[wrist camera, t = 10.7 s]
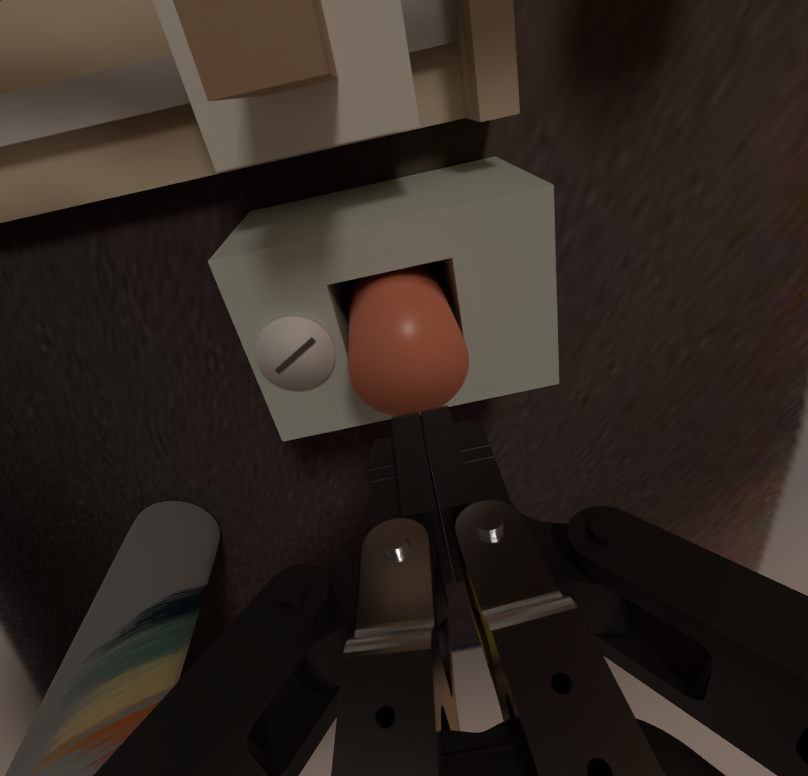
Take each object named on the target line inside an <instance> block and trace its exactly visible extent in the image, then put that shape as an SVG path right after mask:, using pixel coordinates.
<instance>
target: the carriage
mask: <svg viewBox="0 0 808 776" xmlns="http://www.w3.org/2000/svg"><path fill="white" fill-rule="evenodd" d="M153 3H154V6H155V8H156V11H157V14H158V17H159V19H160V22H161V25H162V27H163V30H164V33H165V36H166V38H167V41H168V44H169V46H170V49H171V52H172V55H173V57H174V60H175V63H176V65H177V68H178V71H179V74H180V76H181V79H182V82H183V84H184V87H185V90H186V92H187V95H188V98H189V101H190V103H191V106H192V109H193V111H194V114H195V117H196V120H197V122H198V125H199V128H200V130H201V133H202V136H203V139H204V141H205V144H206V147H207V149H208V152H209V155H210V157H211V160H212V163H213V166H214V168H215V171H216V172H220V171H225V170H229V169H233V168H238V167H242V166H247V165H251V164H256V163H260V162H264V161H269V160H273V159H278V158H282V157H287V156H291V155H295V154H300V153H304V152H309V151H313V150H318V149H322V148H326V147H331V146H335V145H340V144H344V143H348V142H353V141H357V140H362V139H366V138H371V137H375V136H379V135H384V134H388V133H393V132H397V131H402V130H406V129H410V128H415V127H419V126H420V122H419V116H418V109H417V103H416V97H415V90H414V84H413V77H412V71H411V64H410V58H409V51H408V45H407V39H406V32H405V26H404V19H403V13H402V6H401V0H153Z"/></svg>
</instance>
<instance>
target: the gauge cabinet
mask: <svg viewBox="0 0 808 776" xmlns="http://www.w3.org/2000/svg"><path fill="white" fill-rule="evenodd" d="M430 262H434V268H435V274H436V277H437V279H438V281H439V283H440V285H441V288H442V290H443V292H444V295H445V297H446V299H447V301H448V304H449V306H450V308H451V311H452V313H453V315H454V318H455V320H456V322H457V324H458V327H459V329H460V331H461V334H462V336H463V338H464V340H465V343H466V346H467V349H468V353H469V368H468V372H467V376H466V379H465V381H464V383H463V385H462V387H461V388H460V390H459V391H458V392H457V394H456V395H455V396H454V397H453V398H452V399H451V400H450V401H449V402H447V403H446V404H445V405H443V406H446V405H448V407H450V406H455V405H460V404H464V403H469V402H474V401H479V400H484V399H488V398H493V397H498V396H503V395H507V394H512V393H517V392H522V391H526V390H531V389H536V388H541V387H546V386H550V385H555V384H559V360H558V325H557V289H556V253H555V218H554V185H553V184H550V183H548V182H546V181H544V180H542V179H540V178H538V177H536V176H534V175H532V174H530V173H528V172H526V171H524V170H522V169H520V168H518V167H516V166H514V165H512V164H510V163H508V162H506V161H504V160H501V159H499V158H497V157H491V158H486V159H482V160H477V161H473V162H468V163H464V164H460V165H455V166H451V167H446V168H442V169H437V170H433V171H428V172H424V173H419V174H415V175H410V176H406V177H401V178H397V179H392V180H388V181H383V182H379V183H374V184H370V185H365V186H361V187H356V188H352V189H348V190H343V191H339V192H334V193H330V194H325V195H321V196H316V197H312V198H307V199H303V200H298V201H294V202H289V203H285V204H280V205H276V206H271V207H267V208H262V209H258V210H253V211H250V212H249V213H248V214H247V215H246V217H245V218H244V219H243V220H242V221H241V223H240V224H239V225H238V226H237V227H236V228H235V230H234V231H233V232H232V233H231V234H230V236H229V237H228V238H227V239H226V240H225V242H224V243H223V244H222V245H221V246H220V247H219V249H218V250H217V251H216V252H215V253H214V255H213V256H212V257H211V258H210V259H209V261H208V263H209V265H210V268H211V270H212V273H213V275H214V278H215V280H216V282H217V285H218V287H219V290H220V292H221V294H222V297H223V299H224V302H225V304H226V306H227V309H228V311H229V314H230V316H231V319H232V321H233V323H234V326H235V328H236V331H237V333H238V335H239V338H240V340H241V343H242V345H243V347H244V350H245V352H246V355H247V357H248V360H249V362H250V364H251V367H252V369H253V372H254V374H255V376H256V379H257V381H258V384H259V386H260V388H261V391H262V393H263V396H264V398H265V400H266V403H267V405H268V408H269V410H270V413H271V415H272V417H273V420H274V422H275V425H276V427H277V429H278V432H279V434H280V437H281V439H282V441H288V440H293V439H298V438H302V437H307V436H312V435H317V434H321V433H326V432H331V431H336V430H340V429H345V428H350V427H355V426H360V425H364V424H369V423H374V422H379V421H383V420H388V419H392V417H394V416H393V415H388V414H385V413H382V412H380V411H378V410H376V409H374V408H372V407H370V406H369V405H368V404H367V403H365V402H364V401H363V400H362V399H361V398H360V397H359V395H358V394H357V393H356V391H355V389H354V388H353V386H352V383H351V381H350V377H349V371H348V350H349V303H350V287H349V284H348V280H352V279H357V278H361V277H366V276H371V275H375V274H380V273H384V272H389V271H393V270H398V269H403V268H407V267H412V266H416V265H421V264H426V263H430Z"/></svg>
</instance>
